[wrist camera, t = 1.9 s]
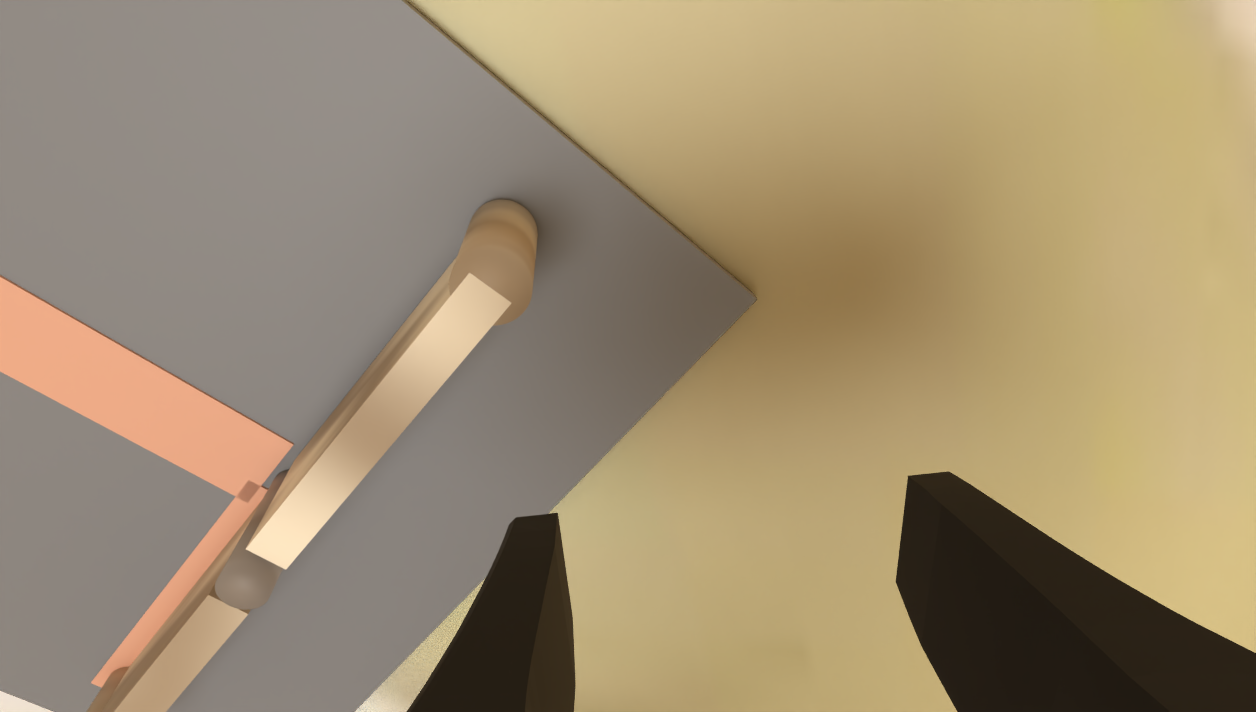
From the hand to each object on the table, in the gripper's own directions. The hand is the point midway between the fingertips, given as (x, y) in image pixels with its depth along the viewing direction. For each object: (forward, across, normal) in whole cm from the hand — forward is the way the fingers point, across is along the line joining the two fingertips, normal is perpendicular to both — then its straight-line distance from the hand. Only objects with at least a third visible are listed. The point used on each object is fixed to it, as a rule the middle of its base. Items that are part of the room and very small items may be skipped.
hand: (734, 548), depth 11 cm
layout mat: (+9, +12, +2) cm, 16 cm away
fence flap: (+9, +6, 0) cm, 11 cm away
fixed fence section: (+9, +14, +8) cm, 18 cm away
